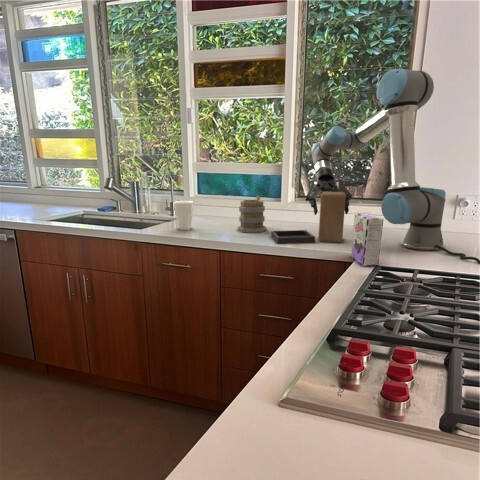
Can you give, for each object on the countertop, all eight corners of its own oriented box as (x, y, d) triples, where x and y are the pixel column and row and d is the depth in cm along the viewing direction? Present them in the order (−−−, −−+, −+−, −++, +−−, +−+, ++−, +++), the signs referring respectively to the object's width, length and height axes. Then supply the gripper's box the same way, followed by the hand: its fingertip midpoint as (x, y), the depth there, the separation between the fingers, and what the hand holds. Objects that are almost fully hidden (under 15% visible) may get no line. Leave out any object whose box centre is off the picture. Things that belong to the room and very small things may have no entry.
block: (342, 242, 195) (345, 194, 188) (318, 242, 197) (320, 193, 190) (342, 238, 205) (345, 191, 197) (319, 237, 207) (321, 191, 199)
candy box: (350, 257, 171) (354, 212, 165) (366, 256, 172) (370, 211, 166) (362, 266, 158) (366, 218, 152) (379, 266, 159) (384, 217, 153)
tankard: (260, 233, 217) (261, 200, 212) (235, 231, 221) (235, 199, 215) (271, 226, 235) (272, 196, 229) (248, 225, 239) (248, 195, 233)
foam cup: (198, 228, 231) (197, 201, 226) (186, 231, 224) (185, 203, 219) (183, 226, 236) (181, 200, 231) (171, 229, 229) (169, 202, 224)
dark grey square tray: (314, 242, 196) (315, 236, 196) (277, 243, 195) (277, 237, 194) (305, 235, 211) (305, 230, 210) (271, 236, 210) (271, 230, 209)
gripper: (348, 178, 210) (357, 217, 202) (295, 179, 208) (301, 218, 200) (353, 167, 204) (362, 206, 195) (298, 167, 201) (304, 207, 193)
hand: (331, 212), depth 197 cm, fingers open, 13 cm apart
